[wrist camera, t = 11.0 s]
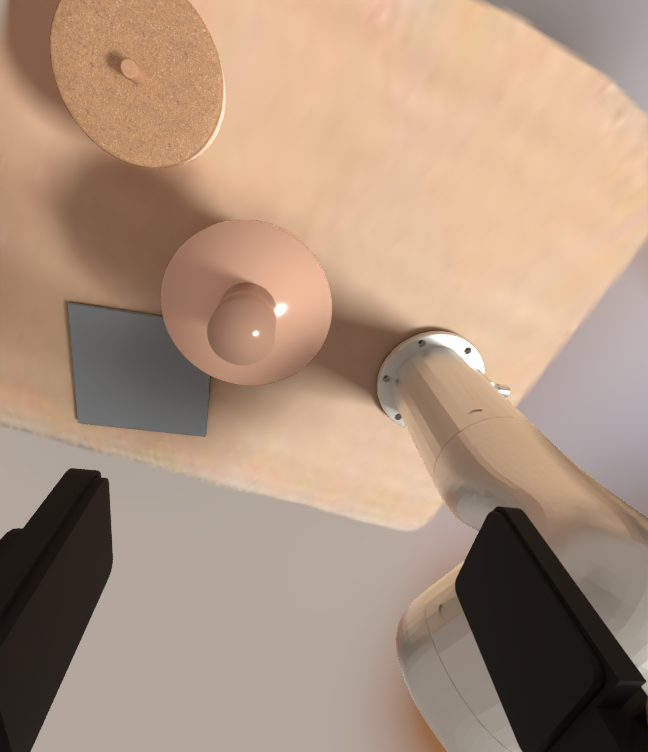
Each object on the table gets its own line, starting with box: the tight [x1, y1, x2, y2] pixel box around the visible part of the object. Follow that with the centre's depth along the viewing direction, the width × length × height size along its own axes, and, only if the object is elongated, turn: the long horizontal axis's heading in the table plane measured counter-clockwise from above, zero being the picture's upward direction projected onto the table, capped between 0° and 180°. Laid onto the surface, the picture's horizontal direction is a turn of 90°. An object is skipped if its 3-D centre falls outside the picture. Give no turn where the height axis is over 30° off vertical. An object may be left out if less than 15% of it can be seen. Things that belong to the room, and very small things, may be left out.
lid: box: [161, 220, 332, 385], centre depth 26 cm, size 12×12×6 cm
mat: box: [68, 302, 210, 437], centre depth 43 cm, size 14×14×1 cm
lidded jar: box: [50, 0, 225, 168], centre depth 28 cm, size 11×11×9 cm
